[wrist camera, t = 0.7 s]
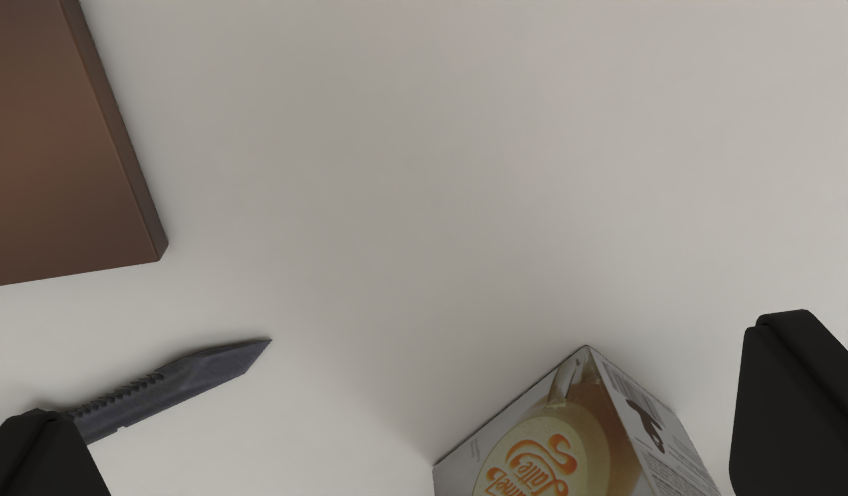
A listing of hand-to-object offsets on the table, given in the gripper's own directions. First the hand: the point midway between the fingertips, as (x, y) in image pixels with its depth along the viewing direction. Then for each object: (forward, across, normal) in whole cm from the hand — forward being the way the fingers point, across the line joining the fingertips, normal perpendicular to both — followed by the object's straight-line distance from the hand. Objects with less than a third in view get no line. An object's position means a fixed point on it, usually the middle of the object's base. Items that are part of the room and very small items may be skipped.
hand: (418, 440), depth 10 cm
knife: (+15, +14, +11) cm, 23 cm away
